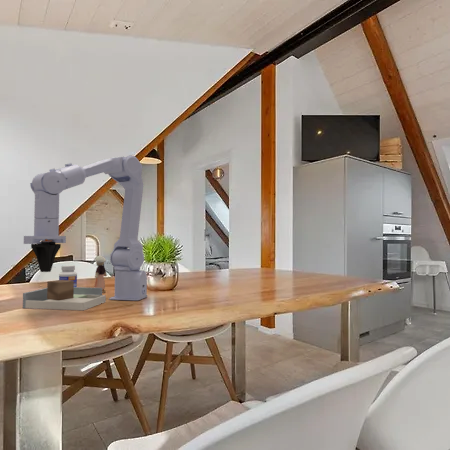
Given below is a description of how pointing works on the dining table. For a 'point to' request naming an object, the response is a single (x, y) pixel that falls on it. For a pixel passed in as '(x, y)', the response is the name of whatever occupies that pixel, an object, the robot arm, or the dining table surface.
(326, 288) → the dining table surface
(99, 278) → the grandmother figurine
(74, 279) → the pill bottle
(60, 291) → the walnut block
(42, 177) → the robot arm
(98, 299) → the board
